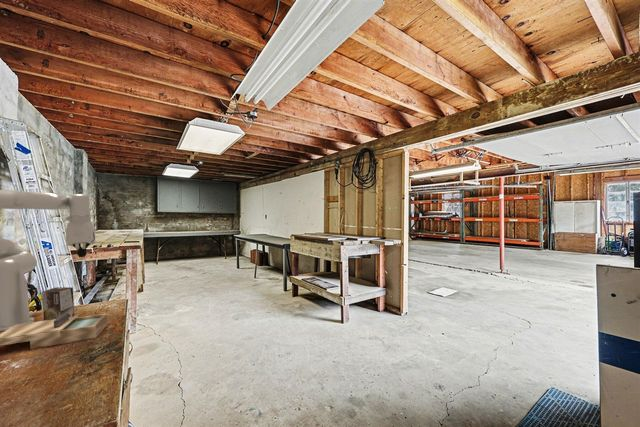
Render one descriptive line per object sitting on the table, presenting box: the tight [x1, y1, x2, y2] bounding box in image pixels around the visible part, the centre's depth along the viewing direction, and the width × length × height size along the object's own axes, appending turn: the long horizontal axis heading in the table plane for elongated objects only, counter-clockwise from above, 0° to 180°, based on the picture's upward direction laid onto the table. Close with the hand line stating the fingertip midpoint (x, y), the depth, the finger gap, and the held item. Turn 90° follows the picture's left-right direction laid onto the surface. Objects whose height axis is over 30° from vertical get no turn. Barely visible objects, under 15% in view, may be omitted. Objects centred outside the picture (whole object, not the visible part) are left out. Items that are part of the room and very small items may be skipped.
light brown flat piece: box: [0, 313, 79, 346], centre depth 109 cm, size 20×16×5 cm
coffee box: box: [41, 286, 76, 321], centre depth 125 cm, size 9×6×16 cm
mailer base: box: [29, 313, 109, 350], centre depth 113 cm, size 20×14×5 cm
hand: (82, 256), depth 133 cm, fingers closed
